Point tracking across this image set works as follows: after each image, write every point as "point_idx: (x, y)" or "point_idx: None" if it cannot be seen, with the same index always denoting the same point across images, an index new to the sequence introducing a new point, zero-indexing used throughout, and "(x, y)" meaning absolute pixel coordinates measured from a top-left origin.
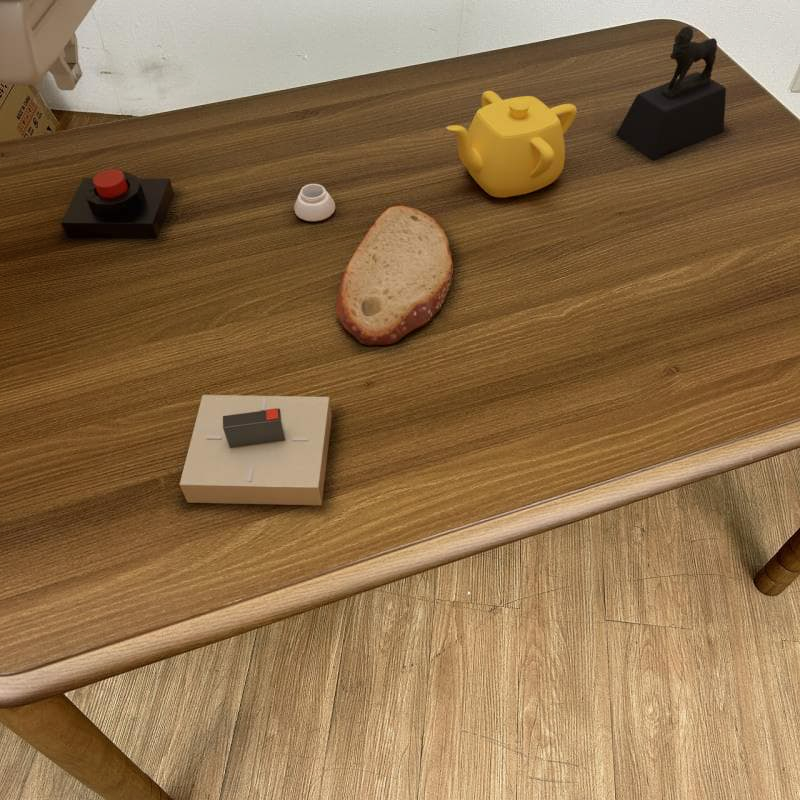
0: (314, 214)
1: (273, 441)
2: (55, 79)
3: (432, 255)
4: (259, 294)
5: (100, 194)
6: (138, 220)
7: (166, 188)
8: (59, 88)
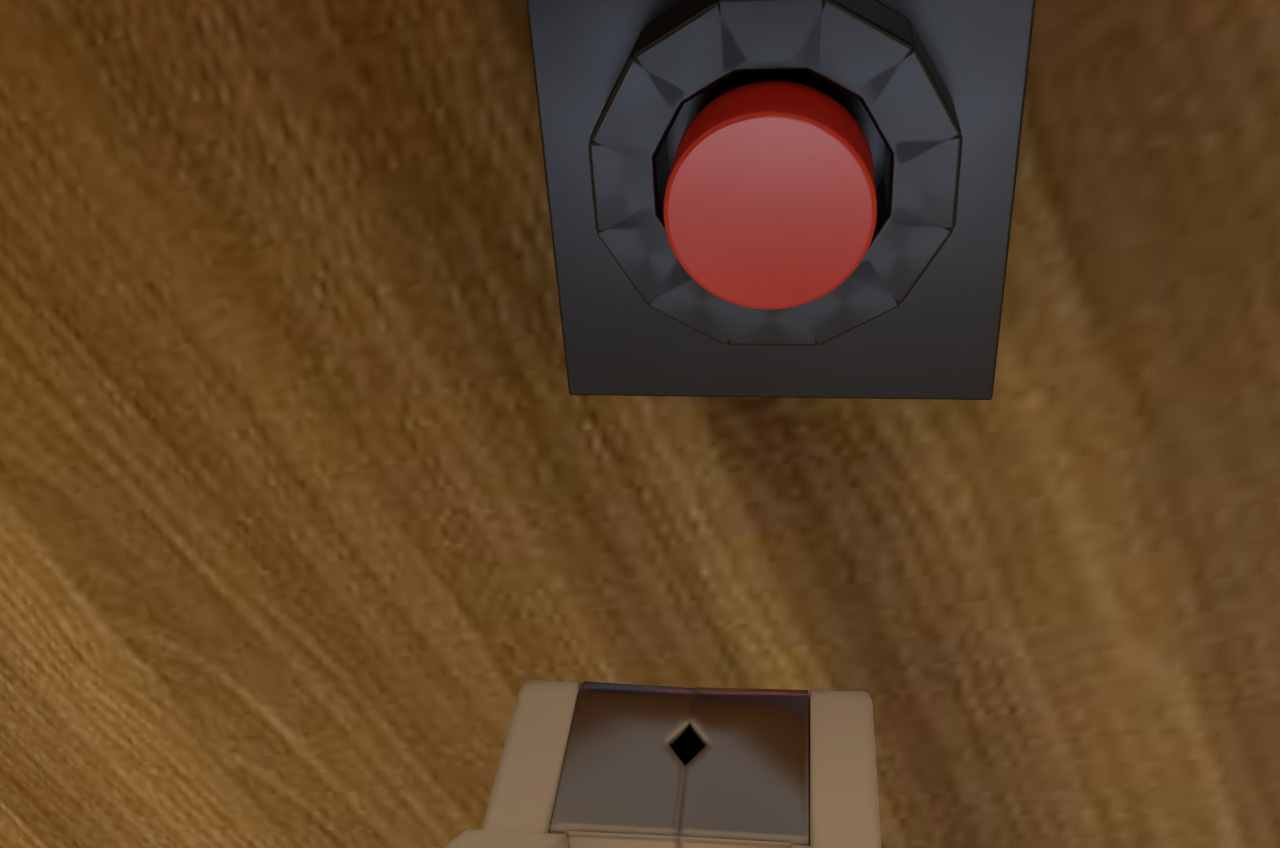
0: None
1: None
2: (500, 771)
3: None
4: (318, 740)
5: (682, 138)
6: (586, 323)
7: (900, 395)
8: (531, 682)
